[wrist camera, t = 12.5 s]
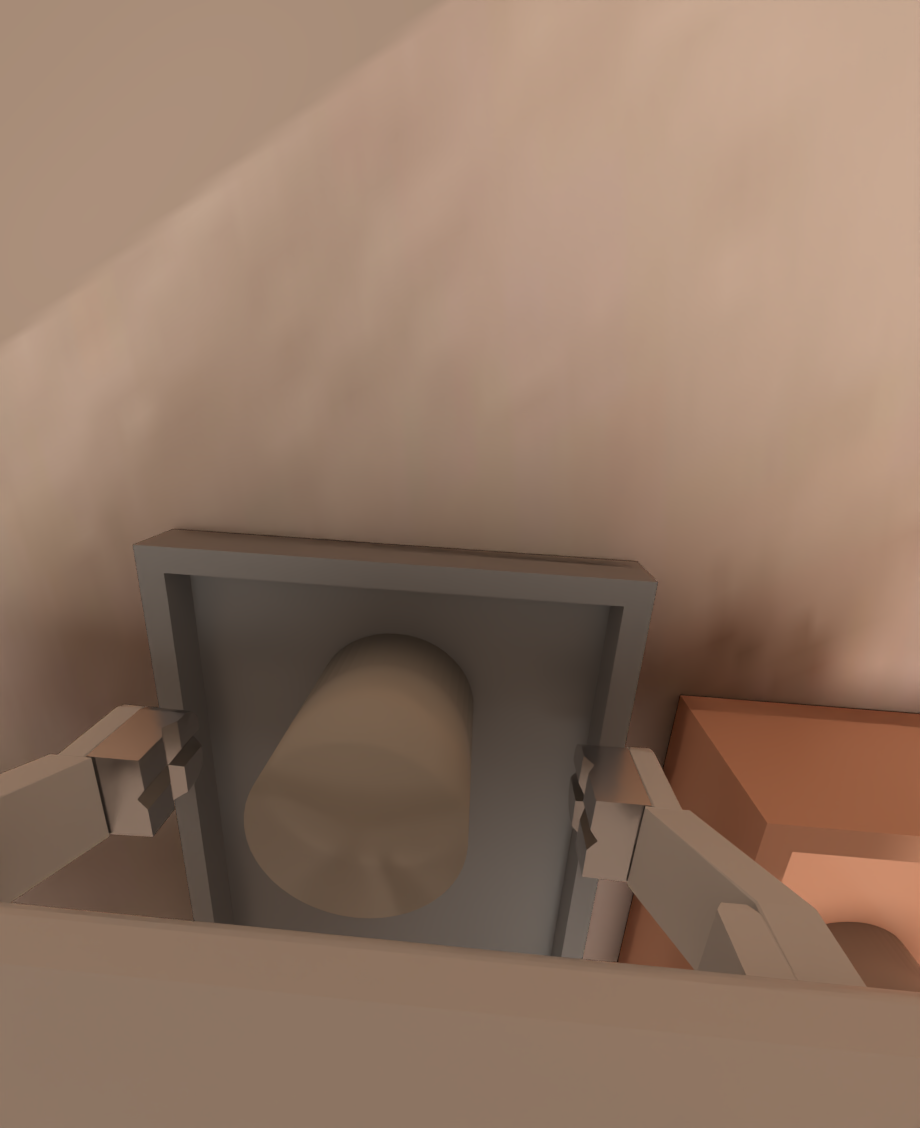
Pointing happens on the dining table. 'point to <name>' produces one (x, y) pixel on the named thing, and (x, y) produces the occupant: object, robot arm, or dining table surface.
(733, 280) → the dining table surface
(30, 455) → the dining table surface
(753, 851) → the open box
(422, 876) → the pebble
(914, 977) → the pebble
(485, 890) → the tray
